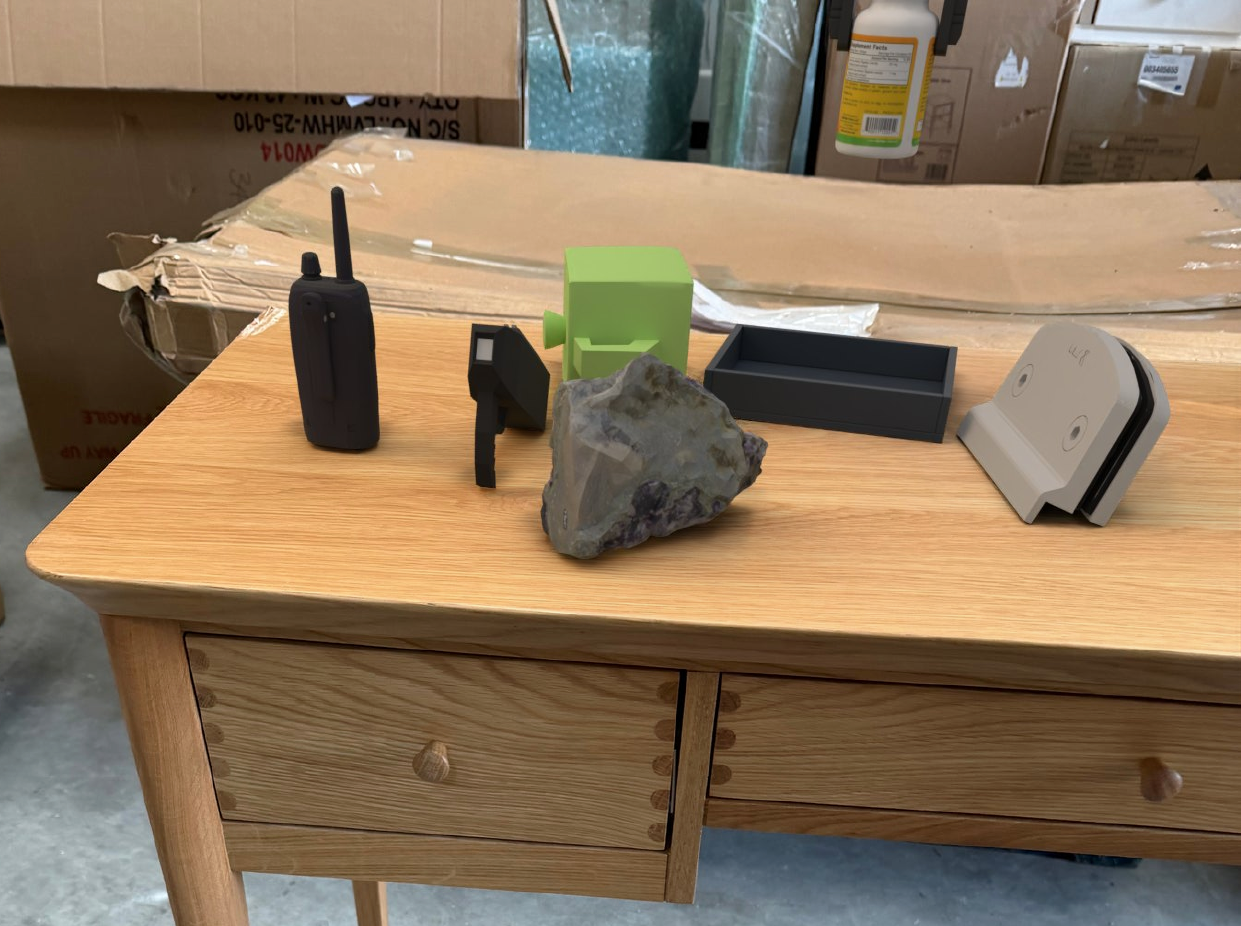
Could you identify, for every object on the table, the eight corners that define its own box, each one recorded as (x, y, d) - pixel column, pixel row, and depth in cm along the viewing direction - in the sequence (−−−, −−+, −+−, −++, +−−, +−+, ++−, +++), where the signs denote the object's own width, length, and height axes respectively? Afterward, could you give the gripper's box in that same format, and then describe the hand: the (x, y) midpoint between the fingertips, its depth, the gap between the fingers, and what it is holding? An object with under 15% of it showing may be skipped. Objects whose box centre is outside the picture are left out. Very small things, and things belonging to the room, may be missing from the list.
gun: (543, 511, 84) (557, 363, 82) (496, 480, 69) (512, 296, 67) (504, 507, 85) (517, 360, 83) (449, 476, 69) (463, 293, 67)
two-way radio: (391, 440, 79) (372, 184, 69) (365, 463, 76) (342, 197, 66) (315, 431, 80) (286, 177, 70) (286, 452, 77) (252, 189, 67)
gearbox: (540, 359, 94) (541, 227, 88) (661, 361, 95) (671, 230, 89) (544, 435, 81) (545, 284, 75) (686, 437, 81) (699, 288, 75)
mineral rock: (756, 504, 72) (779, 329, 66) (771, 580, 64) (799, 389, 58) (547, 495, 72) (549, 319, 66) (535, 569, 64) (537, 377, 58)
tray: (948, 388, 92) (958, 346, 90) (941, 443, 82) (951, 397, 80) (732, 364, 95) (736, 323, 93) (700, 414, 85) (704, 369, 83)
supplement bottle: (878, 145, 80) (908, -36, 74) (934, 157, 77) (970, -32, 70) (817, 149, 78) (842, -37, 72) (871, 161, 74) (902, -33, 68)
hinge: (954, 430, 84) (1038, 287, 78) (1010, 454, 85) (1097, 315, 79) (1025, 523, 71) (1132, 360, 65) (1090, 550, 72) (1201, 392, 66)
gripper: (1088, -321, 64) (1008, 54, 75) (826, -320, 67) (785, 42, 78) (1097, -345, 59) (1008, 64, 70) (811, -343, 62) (768, 51, 72)
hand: (891, 51), depth 74 cm, fingers closed on supplement bottle, 5 cm apart
